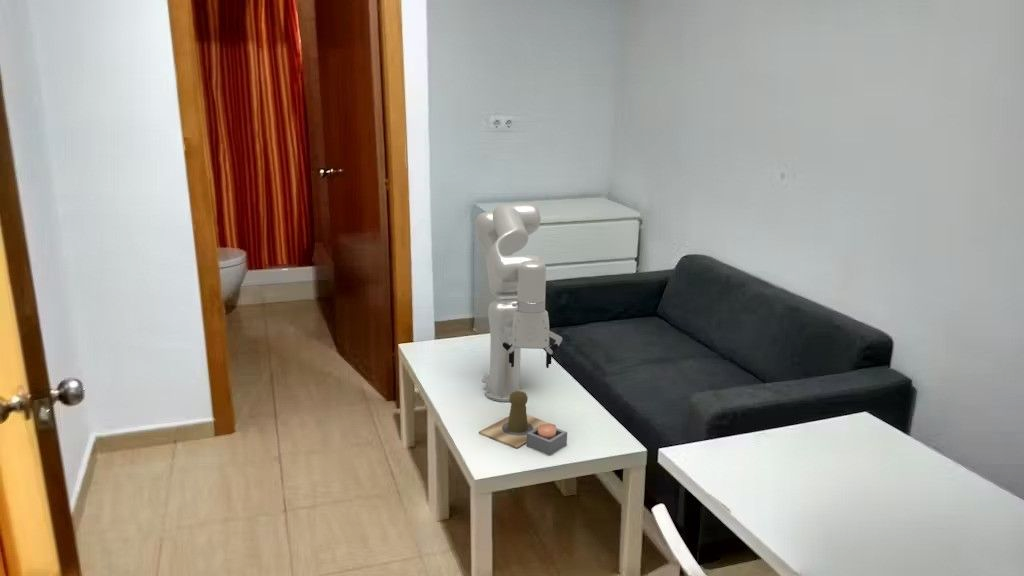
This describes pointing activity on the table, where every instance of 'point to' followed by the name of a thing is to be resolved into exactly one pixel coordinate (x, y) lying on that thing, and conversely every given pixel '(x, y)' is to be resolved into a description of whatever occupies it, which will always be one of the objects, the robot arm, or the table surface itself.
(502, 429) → the wooden board
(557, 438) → the button housing
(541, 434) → the button
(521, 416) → the pepper shaker
